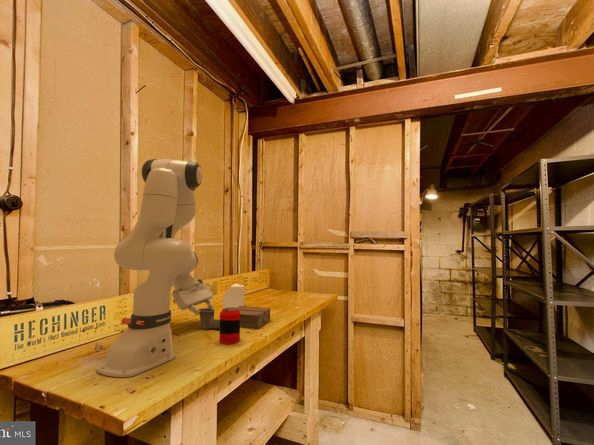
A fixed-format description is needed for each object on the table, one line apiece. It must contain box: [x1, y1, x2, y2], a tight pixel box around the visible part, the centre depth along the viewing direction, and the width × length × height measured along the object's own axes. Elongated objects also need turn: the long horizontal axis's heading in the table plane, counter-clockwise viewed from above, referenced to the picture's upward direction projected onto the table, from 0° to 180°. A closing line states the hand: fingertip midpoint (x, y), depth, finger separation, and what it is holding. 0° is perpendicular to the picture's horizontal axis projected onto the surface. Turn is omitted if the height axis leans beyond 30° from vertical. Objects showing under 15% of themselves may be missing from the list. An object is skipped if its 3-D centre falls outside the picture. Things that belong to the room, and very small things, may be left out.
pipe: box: [198, 307, 220, 330], centre depth 125 cm, size 6×13×8 cm, turn 74°
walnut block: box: [236, 305, 271, 330], centre depth 133 cm, size 14×16×6 cm
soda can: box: [218, 307, 241, 345], centre depth 110 cm, size 8×8×12 cm
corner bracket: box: [222, 283, 245, 308], centre depth 165 cm, size 11×11×12 cm
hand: (205, 311), depth 127 cm, fingers open, 8 cm apart
